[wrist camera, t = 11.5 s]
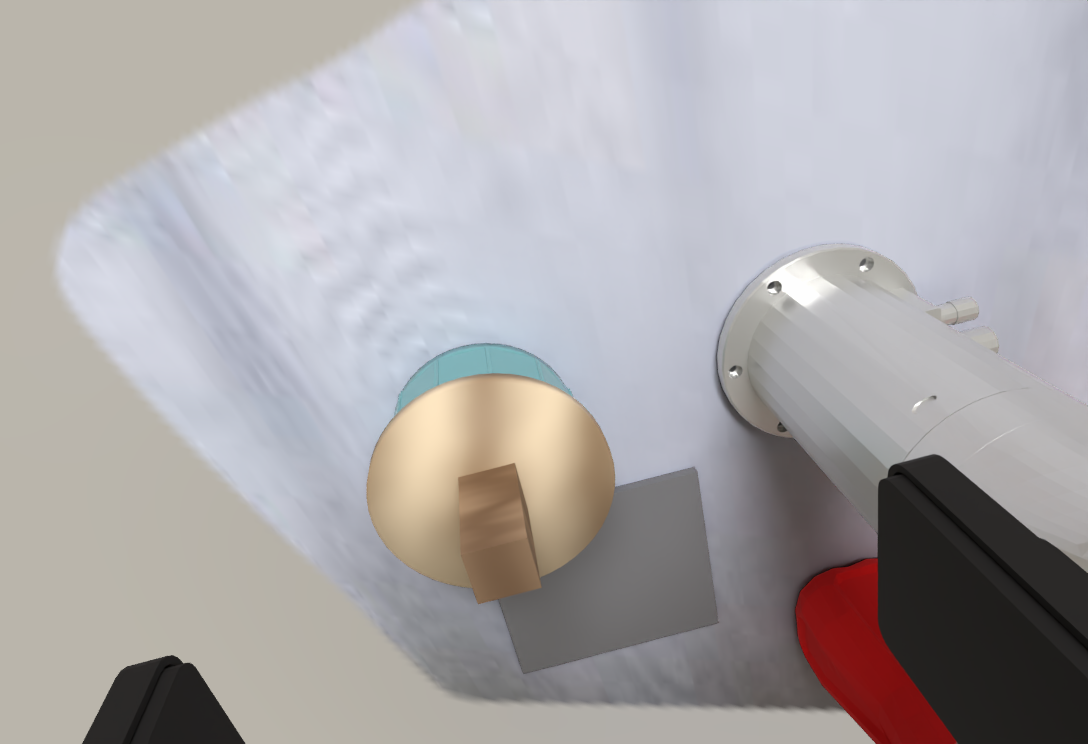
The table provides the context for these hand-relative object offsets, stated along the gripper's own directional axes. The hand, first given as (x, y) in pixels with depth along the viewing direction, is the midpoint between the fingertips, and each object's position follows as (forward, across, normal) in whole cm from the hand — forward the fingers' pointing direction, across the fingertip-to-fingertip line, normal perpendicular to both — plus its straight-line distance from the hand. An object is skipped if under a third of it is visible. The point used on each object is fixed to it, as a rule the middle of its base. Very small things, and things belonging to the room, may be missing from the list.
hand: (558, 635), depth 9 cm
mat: (+30, -2, +28) cm, 41 cm away
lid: (+24, +3, +14) cm, 28 cm away
